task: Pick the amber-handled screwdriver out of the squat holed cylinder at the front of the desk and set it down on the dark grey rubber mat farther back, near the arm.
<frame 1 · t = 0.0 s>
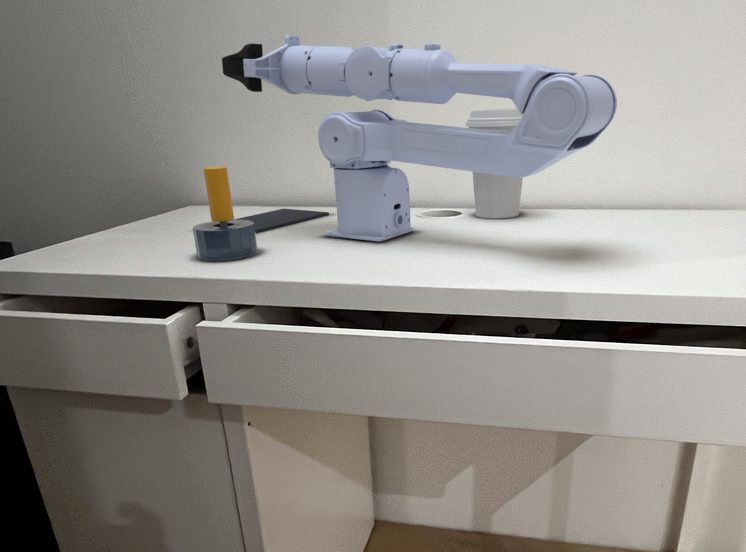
hand: (246, 66, 86), 22 cm above the table, tool horizontal, fingers open, 7 cm apart
coffee cup: (497, 216, 95), on the table
mat: (266, 222, 95), on the table
screwdriver: (227, 251, 75), resting on squat holed cylinder
squat holed cylinder: (228, 254, 75), on the table
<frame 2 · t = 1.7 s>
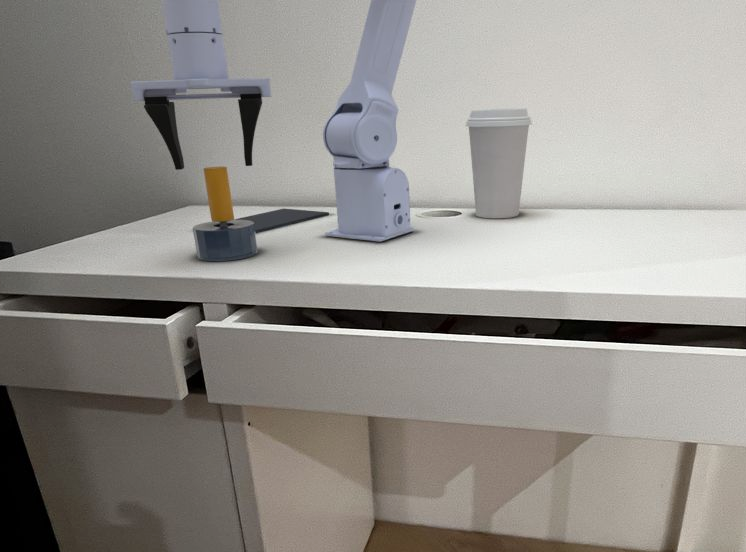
hand: (214, 167, 72), 10 cm above the table, tool pointing down, fingers open, 7 cm apart
nothing on the table moved.
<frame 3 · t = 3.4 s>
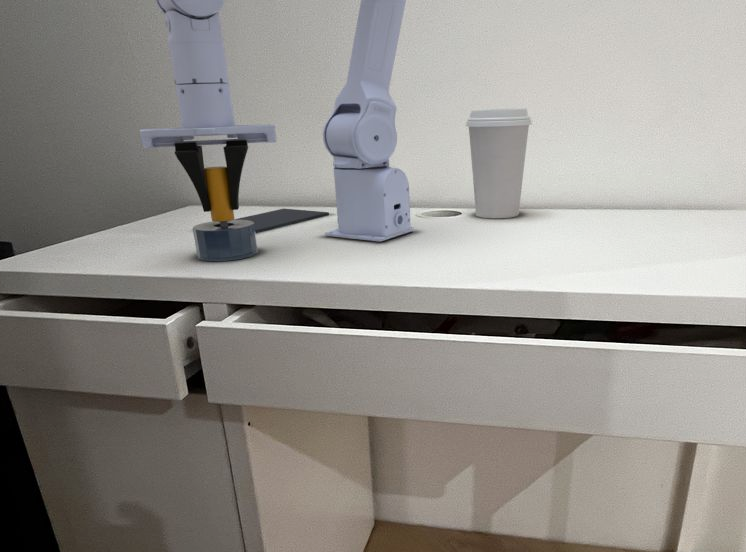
hand: (221, 209, 73), 5 cm above the table, tool pointing down, fingers closed on screwdriver, 2 cm apart
screwdriver: (227, 251, 75), resting on squat holed cylinder, touching gripper
everything else where it was.
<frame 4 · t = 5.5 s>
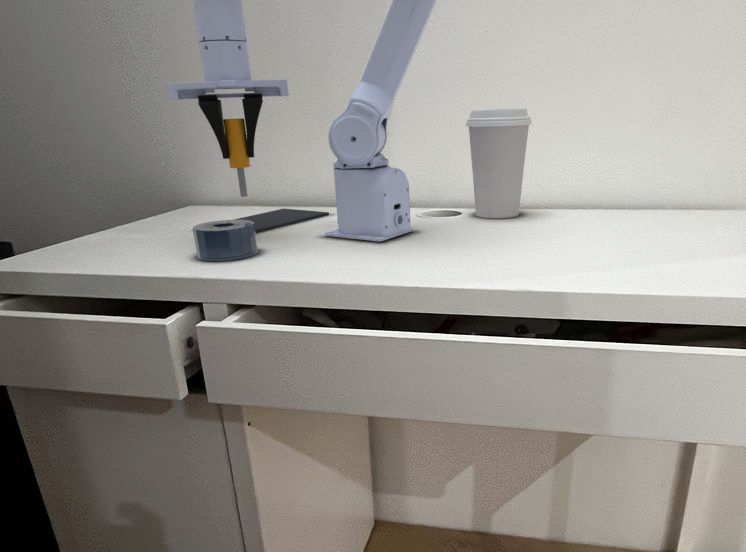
hand: (238, 157, 82), 10 cm above the table, tool pointing down, fingers closed on screwdriver, 2 cm apart
screwdriver: (244, 196, 84), point 5 cm above the table, touching gripper
everything else where it was.
when the fingers open (5 cm above the table, at t = 7.9 s): screwdriver stays where it is, resting on mat.
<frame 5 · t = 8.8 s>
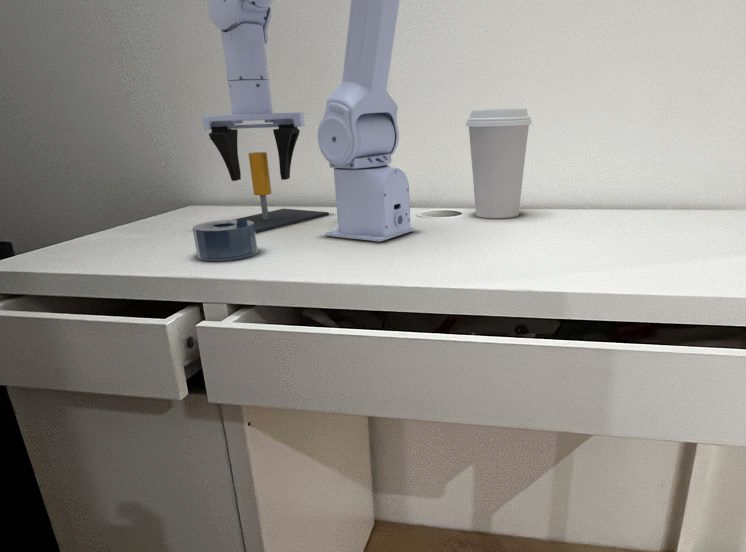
hand: (260, 179, 93), 6 cm above the table, tool pointing down, fingers open, 7 cm apart
screwdriver: (265, 219, 95), resting on mat
everything else where it was.
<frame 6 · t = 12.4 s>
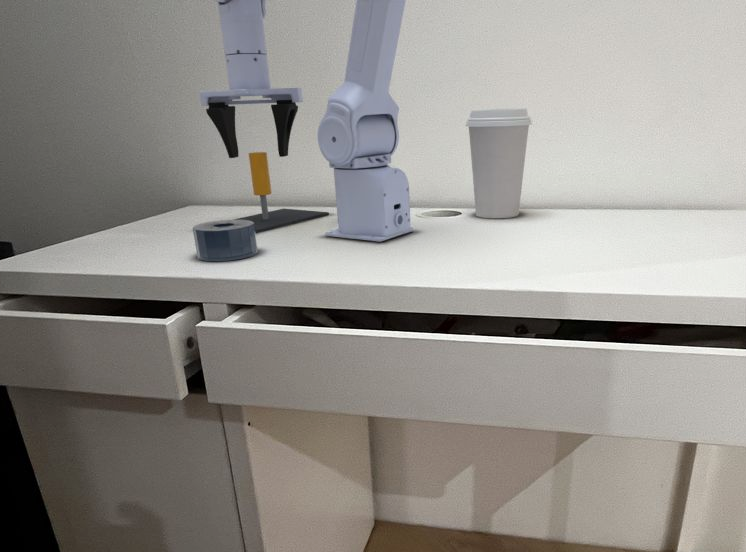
hand: (258, 156, 92), 10 cm above the table, tool pointing down, fingers open, 7 cm apart
nothing on the table moved.
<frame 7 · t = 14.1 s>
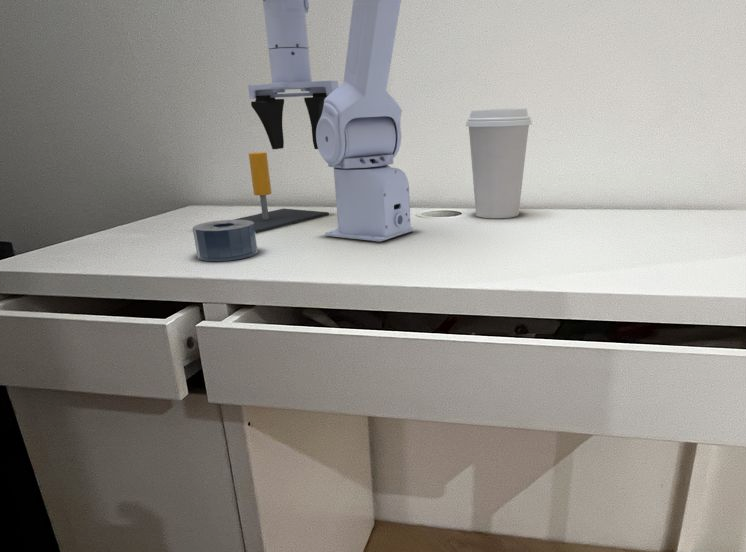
hand: (298, 148, 94), 10 cm above the table, tool pointing down, fingers open, 7 cm apart
nothing on the table moved.
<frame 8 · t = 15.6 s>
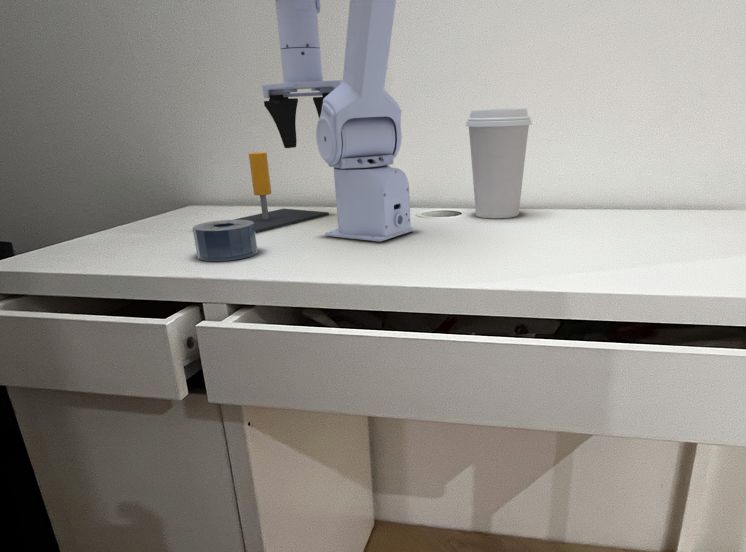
hand: (309, 147, 95), 10 cm above the table, tool pointing down, fingers open, 7 cm apart
nothing on the table moved.
at the end: screwdriver inside the target area on the mat (0.0 cm from its centre), point 0.4 cm above the mat's base; screwdriver touching mat; the gripper is holding nothing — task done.
